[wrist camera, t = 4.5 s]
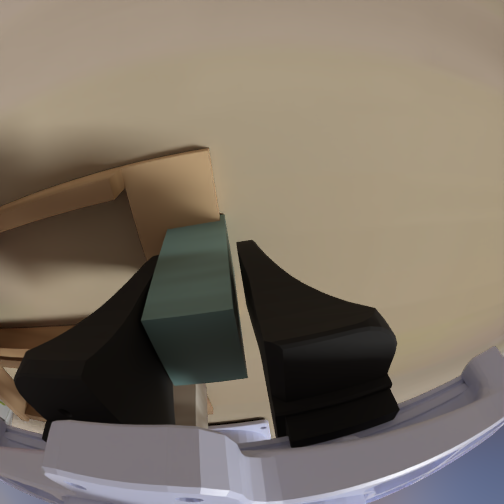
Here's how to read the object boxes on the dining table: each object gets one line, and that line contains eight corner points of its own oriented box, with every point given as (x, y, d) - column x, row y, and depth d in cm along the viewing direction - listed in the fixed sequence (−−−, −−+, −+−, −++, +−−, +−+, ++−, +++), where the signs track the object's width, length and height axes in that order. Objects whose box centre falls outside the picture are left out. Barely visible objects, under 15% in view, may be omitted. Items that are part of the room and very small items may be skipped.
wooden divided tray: (242, 317, 15) (256, 417, 10) (-8, 336, 14) (-38, 394, 9) (213, 147, 11) (211, 195, 6) (-61, 236, 10) (-111, 286, 5)
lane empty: (215, 407, 20) (220, 477, 14) (28, 401, 19) (13, 449, 14) (183, 330, 15) (178, 428, 10) (-25, 339, 14) (-52, 390, 9)
